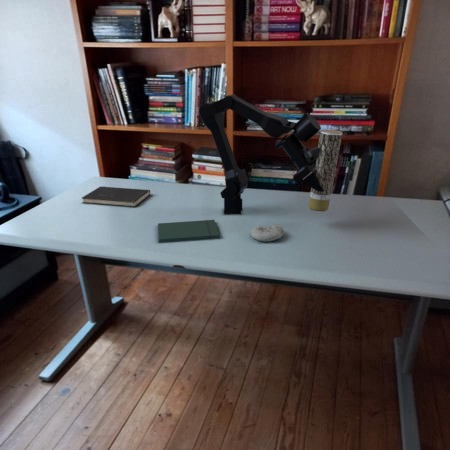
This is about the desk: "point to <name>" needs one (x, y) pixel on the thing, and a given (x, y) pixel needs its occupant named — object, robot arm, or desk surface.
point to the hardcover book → (116, 196)
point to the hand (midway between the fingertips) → (325, 188)
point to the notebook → (187, 231)
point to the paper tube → (325, 168)
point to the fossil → (267, 233)
